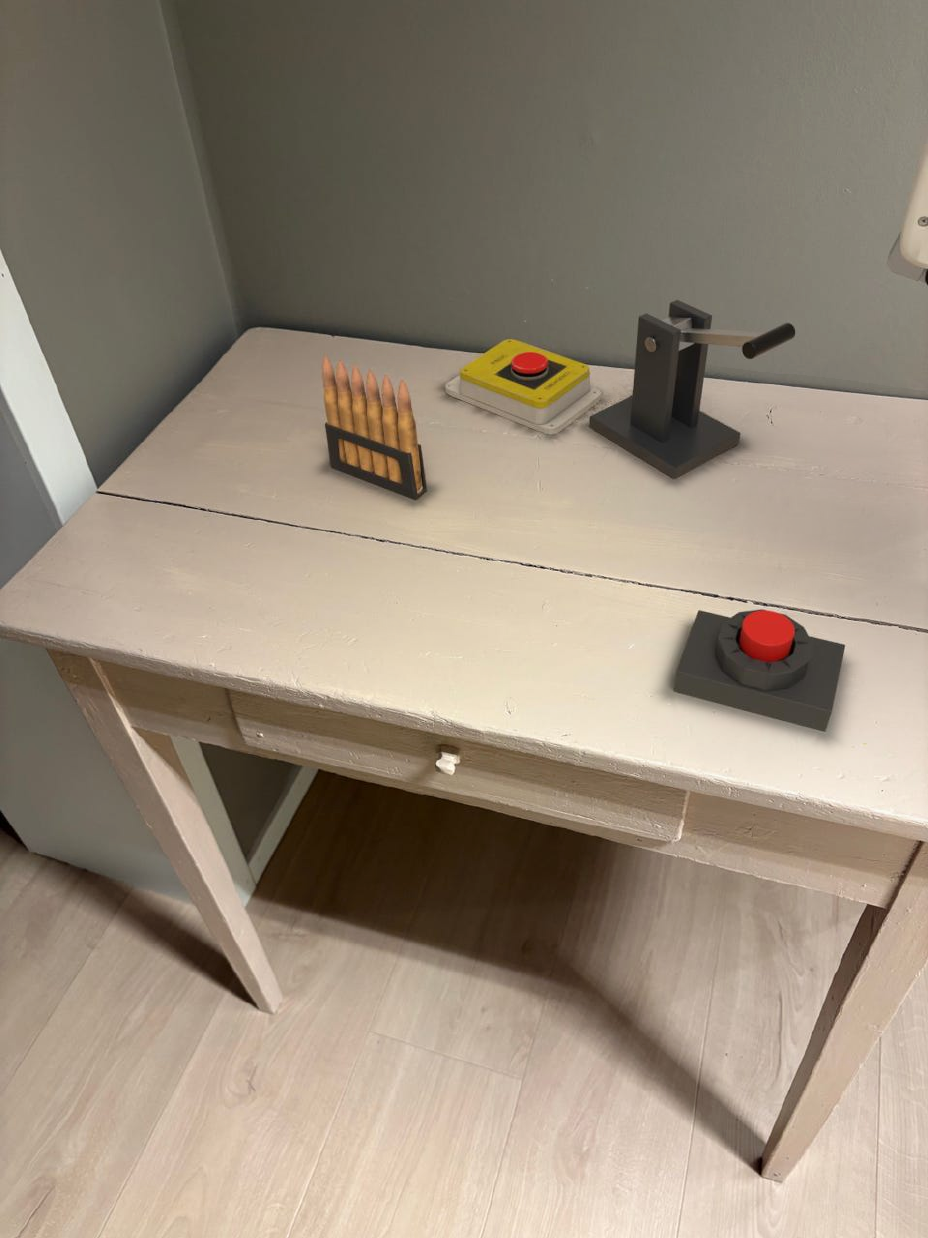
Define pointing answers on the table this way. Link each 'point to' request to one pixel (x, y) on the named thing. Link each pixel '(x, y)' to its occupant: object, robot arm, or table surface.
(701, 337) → the tap lever
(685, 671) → the button block
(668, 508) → the table surface
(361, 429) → the ammunition clip
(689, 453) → the lever stand
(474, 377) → the emergency button
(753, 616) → the red button
